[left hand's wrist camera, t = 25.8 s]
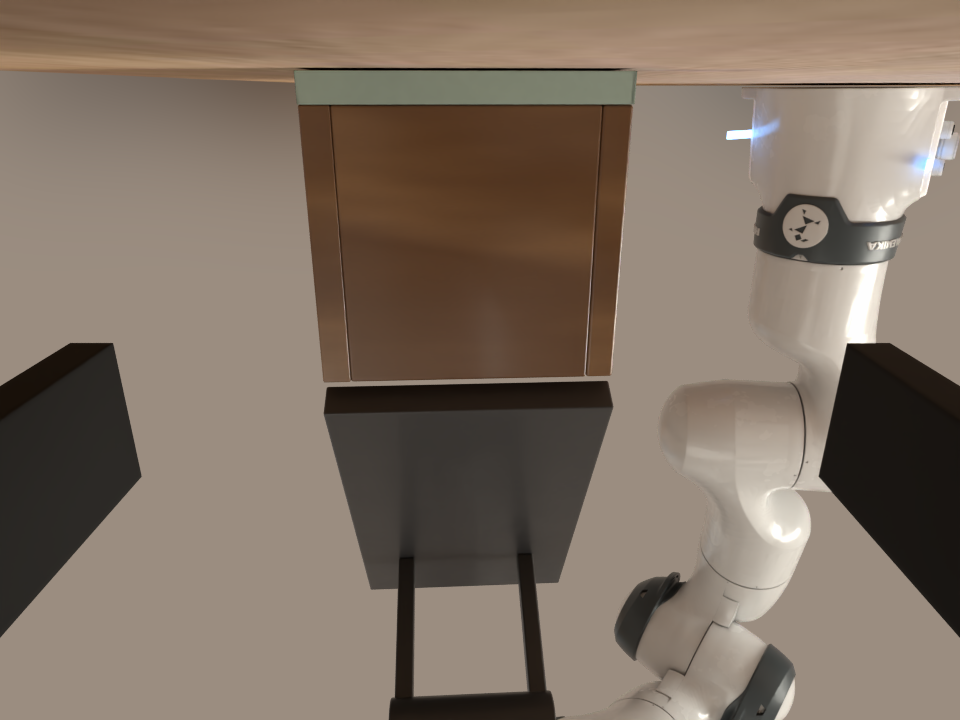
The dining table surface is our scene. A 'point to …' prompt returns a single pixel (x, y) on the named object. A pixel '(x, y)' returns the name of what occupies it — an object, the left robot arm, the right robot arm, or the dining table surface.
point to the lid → (467, 505)
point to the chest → (465, 220)
